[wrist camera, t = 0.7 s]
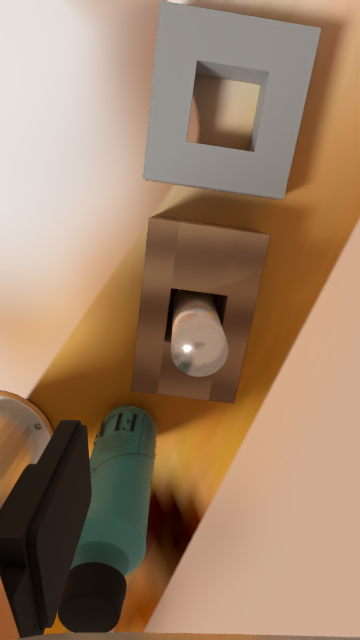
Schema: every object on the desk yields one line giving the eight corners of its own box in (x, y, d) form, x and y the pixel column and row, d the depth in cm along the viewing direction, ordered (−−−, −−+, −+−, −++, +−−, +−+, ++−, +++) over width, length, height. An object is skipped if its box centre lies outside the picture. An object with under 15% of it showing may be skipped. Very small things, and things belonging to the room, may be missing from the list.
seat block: (274, 199, 32) (283, 198, 29) (146, 180, 31) (143, 178, 29) (307, 45, 28) (321, 28, 25) (162, 21, 28) (159, 0, 25)
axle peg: (209, 324, 36) (223, 379, 25) (171, 319, 36) (167, 373, 24) (215, 287, 35) (233, 327, 23) (176, 281, 34) (174, 320, 23)
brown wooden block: (227, 378, 38) (234, 403, 33) (137, 367, 37) (131, 390, 33) (257, 230, 33) (270, 235, 28) (153, 215, 32) (149, 218, 28)
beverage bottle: (147, 389, 38) (115, 569, 19) (167, 436, 40) (156, 641, 21) (93, 406, 39) (12, 596, 20) (116, 451, 41) (62, 663, 22)
